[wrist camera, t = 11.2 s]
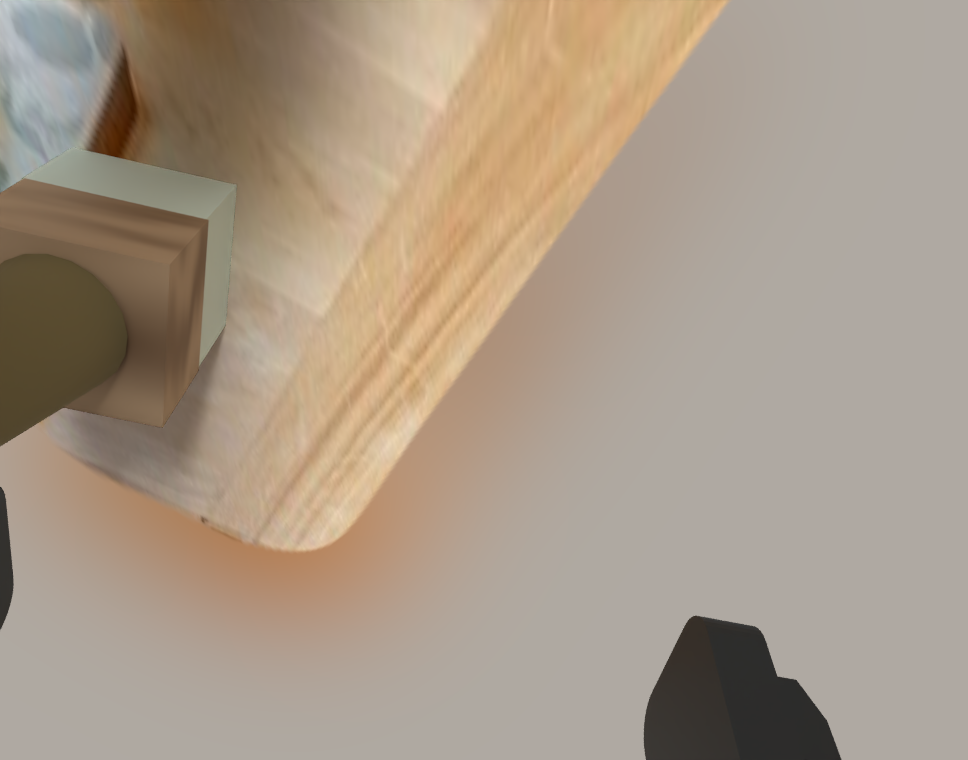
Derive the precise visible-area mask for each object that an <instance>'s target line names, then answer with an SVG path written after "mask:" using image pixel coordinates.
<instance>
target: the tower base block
mask: <svg viewBox="0 0 968 760" xmlns="http://www.w3.org/2000/svg"><path fill="white" fill-rule="evenodd" d="M24 178H26V179H31V180H35V181H40V182H44V183H48V184H53V185H57V186H62V187H66V188H70V189H75V190H79V191H84V192H88V193H92V194H97V195H101V196H106V197H110V198H115V199H119V200H123V201H128V202H132V203H137V204H141V205H145V206H150V207H154V208H159V209H163V210H167V211H172V212H176V213H181V214H185V215H189V216H194V217H198V218H203V219H207V220H209V224H208V239H207V254H206V269H205V284H204V299H203V314H202V328H201V343H200V358H199V366H200V365H201V363H202V361H203V360H204V358H205V357H206V355H207V354H208V352H209V350H210V349H211V347H212V346H213V344H214V343H215V341H216V339H217V338H218V336H219V335H220V333H221V332H222V330H223V328H224V327H225V325H226V316H227V303H228V291H229V278H230V266H231V253H232V241H233V228H234V216H235V203H236V191H237V185H235V184H231V183H227V182H222V181H218V180H213V179H209V178H205V177H200V176H196V175H192V174H187V173H183V172H178V171H174V170H170V169H165V168H161V167H157V166H152V165H148V164H143V163H139V162H135V161H130V160H126V159H122V158H117V157H113V156H108V155H104V154H100V153H95V152H91V151H87V150H82V149H78V148H73V147H71V148H70V149H68V150H67V151H65V152H63V153H62V154H60V155H59V156H57V157H55V158H54V159H52V160H51V161H49V162H47V163H46V164H44V165H42V166H41V167H39V168H38V169H36V170H34V171H33V172H31V173H30V174H28V175H26V176H25V177H23V178H22V179H24Z"/></svg>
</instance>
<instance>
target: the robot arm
mask: <svg viewBox="0 0 968 760" xmlns="http://www.w3.org/2000/svg"><path fill="white" fill-rule="evenodd" d="M12 594H13V569H12V560H11V549H10V539H9V528H8V518H7V508H6V499H5V494H4V491H3V490H2V488H1V487H0V629H1V627H2V625H3V623H4V621H5V618H6V616H7V613H8V610H9V607H10V603H11V599H12ZM644 748H645V756H646V760H841V758H840V755H839V752H838V749H837V747H836V744H835V741H834V738H833V736H832V733H831V730H830V728H829V725H828V722H827V720H826V719H825V718H824V716H823V715H822V714H821V712H820V711H819V710H818V708H817V707H816V706H815V704H814V703H813V702H812V700H811V699H810V698H809V696H808V695H807V694H806V692H805V691H804V690H803V688H802V687H801V686H800V685H799V683H798V682H797V680H794V679H788V678H782V677H777V674H776V671H775V668H774V665H773V662H772V659H771V656H770V653H769V650H768V647H767V644H766V641H765V638H764V636H763V634H762V633H761V631H760V630H759V629H758V628H756V627H755V626H749V625H744V624H738V623H733V622H728V621H722V620H717V619H711V618H706V617H700V616H693V617H691V618H690V619H689V620H688V622H687V623H686V625H685V627H684V629H683V631H682V633H681V635H680V637H679V639H678V641H677V643H676V645H675V647H674V649H673V651H672V653H671V655H670V657H669V659H668V661H667V663H666V665H665V667H664V669H663V671H662V673H661V675H660V677H659V680H658V681H657V684H656V686H655V687H654V689H653V692H652V694H651V696H650V699H649V702H648V706H647V710H646V715H645V723H644Z"/></svg>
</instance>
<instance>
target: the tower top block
mask: <svg viewBox="0 0 968 760" xmlns="http://www.w3.org/2000/svg"><path fill="white" fill-rule="evenodd" d="M208 224H209V220H207V219H203V218H198V217H194V216H189V215H185V214H181V213H176V212H172V211H167V210H163V209H159V208H154V207H150V206H145V205H141V204H137V203H132V202H128V201H123V200H119V199H115V198H110V197H106V196H101V195H97V194H92V193H88V192H84V191H79V190H75V189H70V188H66V187H62V186H57V185H53V184H48V183H44V182H40V181H35V180H31V179H26V178H24V179H22V180H21V181H19V182H17V183H16V184H14V185H13V186H11V187H9V188H8V189H6V190H5V191H3V192H1V193H0V264H1V263H2V262H4V261H5V260H8V259H11V258H14V257H16V256H19V255H22V254H50V255H53V256H56V257H59V258H63V259H66V260H69V261H72V262H74V263H75V264H77V265H78V266H80V267H82V268H83V269H85V270H87V271H88V272H90V273H91V274H93V275H94V276H95V277H96V278H97V279H98V280H99V281H100V282H101V283H102V284H103V285H104V286H105V287H106V288H107V289H108V290H109V291H110V292H111V294H112V296H113V297H114V299H115V301H116V303H117V305H118V306H119V308H120V310H121V312H122V313H123V317H124V322H125V326H126V331H127V335H128V337H127V345H126V354H125V357H124V359H123V361H122V362H121V364H120V366H119V368H118V370H117V372H116V373H114V374H113V375H112V376H111V377H109V378H108V379H107V380H105V381H104V382H103V383H102V384H100V385H98V386H97V387H95V388H94V389H92V390H90V391H89V392H87V393H86V394H84V395H82V396H81V397H79V398H78V399H76V400H74V401H73V402H71V403H69V404H68V405H66V406H65V407H63V408H68V409H73V410H78V411H83V412H88V413H92V414H97V415H102V416H107V417H112V418H117V419H122V420H127V421H132V422H137V423H142V424H147V425H152V426H156V427H161V428H163V426H164V425H165V423H166V422H167V420H168V418H169V417H170V415H171V414H172V412H173V410H174V409H175V407H176V406H177V404H178V402H179V401H180V399H181V398H182V396H183V395H184V393H185V391H186V390H187V388H188V387H189V385H190V383H191V382H192V380H193V379H194V377H195V376H196V374H197V372H198V371H199V358H200V343H201V328H202V314H203V299H204V284H205V269H206V254H207V239H208Z"/></svg>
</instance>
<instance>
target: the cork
mask: <svg viewBox="0 0 968 760" xmlns="http://www.w3.org/2000/svg"><path fill="white" fill-rule="evenodd" d="M127 337H128V335H127V331H126V326H125V322H124V317H123V313H122V312H121V310H120V308H119V306H118V305H117V303H116V301H115V299H114V297H113V296H112V294H111V292H110V291H109V290H108V289H107V288H106V287H105V286H104V285H103V284H102V283H101V282H100V281H99V280H98V279H97V278H96V277H95V276H94V275H93V274H91V273H90V272H88V271H87V270H85V269H83V268H82V267H80V266H78V265H77V264H75V263H74V262H72V261H69V260H66V259H63V258H59V257H56V256H53V255H50V254H22V255H19V256H16V257H14V258H11V259H8V260H5V261H4V262H2V263H1V264H0V446H1V445H3V444H5V443H7V442H8V441H10V440H11V439H13V438H15V437H16V436H18V435H19V434H21V433H23V432H24V431H26V430H28V429H29V428H31V427H32V426H34V425H36V424H37V423H39V422H40V421H42V420H44V419H45V418H47V417H48V416H50V415H52V414H53V413H55V412H57V411H58V410H60V409H61V408H63V407H65V406H66V405H68V404H69V403H71V402H73V401H74V400H76V399H78V398H79V397H81V396H82V395H84V394H86V393H87V392H89V391H90V390H92V389H94V388H95V387H97V386H98V385H100V384H102V383H103V382H104V381H105V380H107V379H108V378H109V377H111V376H112V375H113V374H114V373H116V372H117V370H118V368H119V366H120V364H121V362H122V361H123V359H124V357H125V354H126V345H127Z"/></svg>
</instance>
